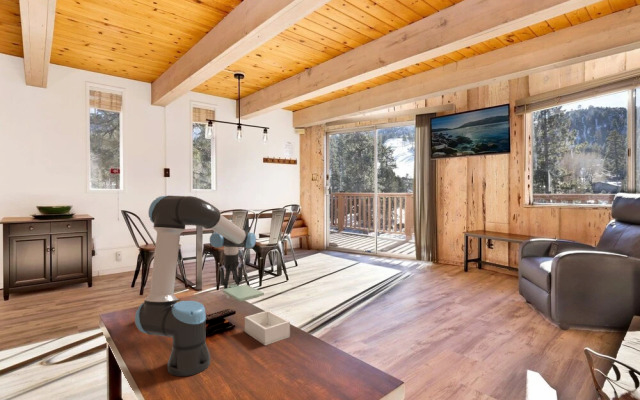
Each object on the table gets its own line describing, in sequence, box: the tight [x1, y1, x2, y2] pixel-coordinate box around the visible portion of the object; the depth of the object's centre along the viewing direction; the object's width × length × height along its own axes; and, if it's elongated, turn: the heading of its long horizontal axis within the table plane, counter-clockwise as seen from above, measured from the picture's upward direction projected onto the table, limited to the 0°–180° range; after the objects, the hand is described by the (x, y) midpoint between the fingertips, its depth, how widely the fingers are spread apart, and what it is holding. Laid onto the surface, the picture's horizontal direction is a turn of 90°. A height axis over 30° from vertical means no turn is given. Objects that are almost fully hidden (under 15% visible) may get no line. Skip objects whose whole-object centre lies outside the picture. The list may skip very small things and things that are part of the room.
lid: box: [222, 282, 265, 302], centre depth 173 cm, size 25×14×2 cm, turn 41°
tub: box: [244, 310, 291, 346], centre depth 154 cm, size 18×13×7 cm
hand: (231, 296), depth 181 cm, fingers closed on lid, 4 cm apart
